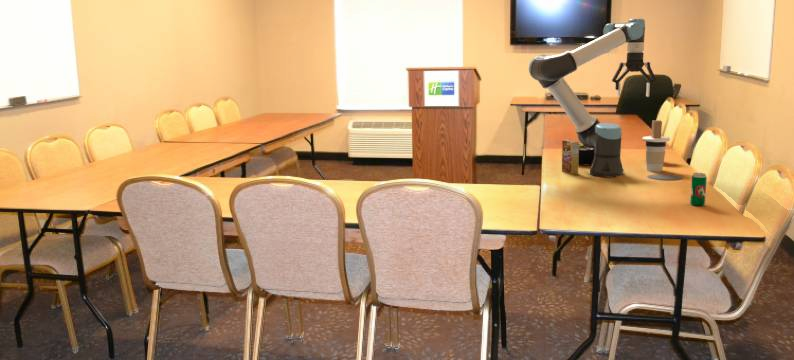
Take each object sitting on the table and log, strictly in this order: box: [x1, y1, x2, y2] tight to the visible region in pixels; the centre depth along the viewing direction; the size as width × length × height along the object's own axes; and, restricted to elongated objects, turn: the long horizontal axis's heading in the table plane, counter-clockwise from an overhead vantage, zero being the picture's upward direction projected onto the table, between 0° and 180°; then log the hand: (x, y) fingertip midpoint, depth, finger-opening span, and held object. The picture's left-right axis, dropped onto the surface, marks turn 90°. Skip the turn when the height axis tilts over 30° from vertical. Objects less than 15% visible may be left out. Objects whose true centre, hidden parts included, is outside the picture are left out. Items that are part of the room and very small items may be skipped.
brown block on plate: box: [642, 119, 671, 143], centre depth 318 cm, size 12×12×9 cm
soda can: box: [689, 172, 708, 207], centre depth 255 cm, size 5×5×12 cm
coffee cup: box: [645, 142, 667, 173], centre depth 321 cm, size 9×9×15 cm
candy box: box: [561, 139, 580, 175], centre depth 323 cm, size 9×4×15 cm, turn 17°
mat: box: [646, 173, 684, 182], centre depth 305 cm, size 15×15×1 cm
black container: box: [579, 143, 595, 166], centre depth 346 cm, size 17×17×10 cm
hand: (633, 96), depth 327 cm, fingers open, 13 cm apart
